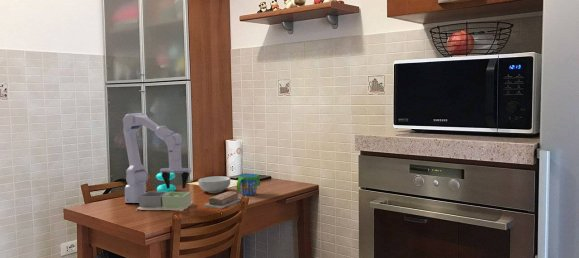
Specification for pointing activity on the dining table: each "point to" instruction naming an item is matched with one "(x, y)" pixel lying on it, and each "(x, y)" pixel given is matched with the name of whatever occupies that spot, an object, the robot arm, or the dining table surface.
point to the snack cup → (248, 184)
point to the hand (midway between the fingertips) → (176, 187)
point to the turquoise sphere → (163, 187)
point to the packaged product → (223, 200)
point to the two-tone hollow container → (165, 201)
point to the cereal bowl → (214, 184)
